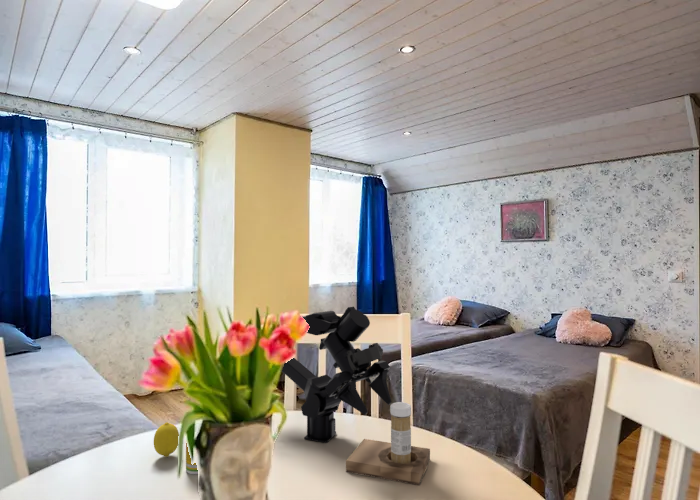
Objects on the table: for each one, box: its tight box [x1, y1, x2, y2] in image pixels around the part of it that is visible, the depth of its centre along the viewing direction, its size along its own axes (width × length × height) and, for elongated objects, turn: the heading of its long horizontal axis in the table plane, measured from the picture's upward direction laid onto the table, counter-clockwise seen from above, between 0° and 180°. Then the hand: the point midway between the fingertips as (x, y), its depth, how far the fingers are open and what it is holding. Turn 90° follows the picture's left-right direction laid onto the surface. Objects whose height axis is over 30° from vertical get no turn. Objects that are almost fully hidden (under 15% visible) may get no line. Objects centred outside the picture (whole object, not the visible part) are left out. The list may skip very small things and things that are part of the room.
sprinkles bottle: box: [389, 401, 412, 464], centre depth 96 cm, size 5×5×14 cm
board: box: [345, 438, 431, 486], centre depth 97 cm, size 16×12×2 cm
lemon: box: [153, 421, 180, 458], centre depth 102 cm, size 6×6×8 cm
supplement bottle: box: [185, 442, 199, 475], centre depth 96 cm, size 5×5×10 cm
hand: (378, 408), depth 101 cm, fingers open, 9 cm apart
